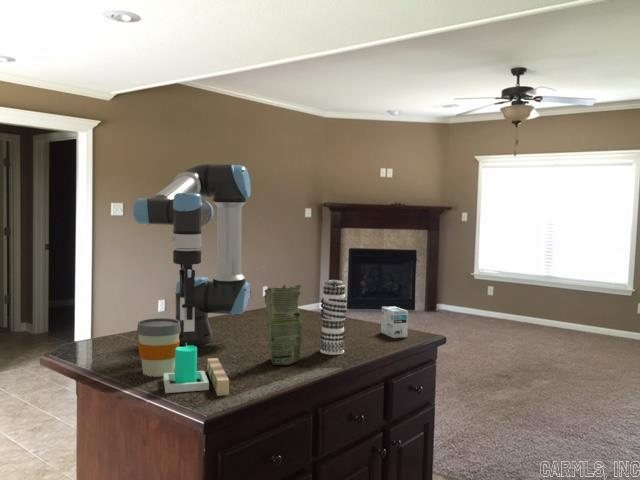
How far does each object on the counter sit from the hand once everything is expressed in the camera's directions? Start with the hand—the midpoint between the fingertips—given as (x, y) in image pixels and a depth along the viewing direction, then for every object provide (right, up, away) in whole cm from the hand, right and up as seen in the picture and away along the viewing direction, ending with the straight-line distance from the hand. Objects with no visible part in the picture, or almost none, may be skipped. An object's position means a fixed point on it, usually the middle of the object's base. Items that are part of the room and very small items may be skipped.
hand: (186, 325), depth 154 cm
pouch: (+25, -16, +27) cm, 40 cm away
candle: (0, -17, 0) cm, 17 cm away
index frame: (-1, -17, +1) cm, 17 cm away
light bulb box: (+67, -15, +69) cm, 97 cm away
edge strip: (+8, -17, +3) cm, 19 cm away
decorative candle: (+41, -16, +41) cm, 60 cm away
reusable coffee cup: (-11, -16, +12) cm, 23 cm away
